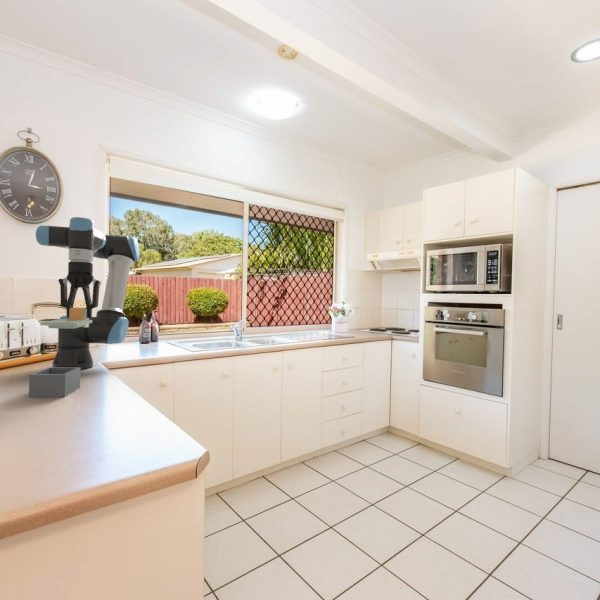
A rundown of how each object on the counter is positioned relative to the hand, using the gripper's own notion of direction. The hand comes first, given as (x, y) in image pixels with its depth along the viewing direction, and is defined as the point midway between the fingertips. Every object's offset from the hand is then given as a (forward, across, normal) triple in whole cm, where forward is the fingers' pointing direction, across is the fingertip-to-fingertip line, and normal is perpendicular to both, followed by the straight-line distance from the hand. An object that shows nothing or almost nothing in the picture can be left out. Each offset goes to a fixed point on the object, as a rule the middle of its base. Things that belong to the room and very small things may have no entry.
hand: (78, 326), depth 132 cm
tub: (+20, -2, -12) cm, 24 cm away
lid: (-1, 0, -6) cm, 7 cm away
